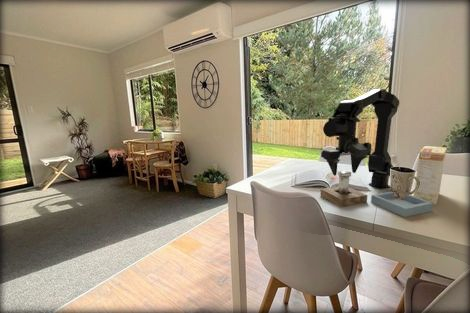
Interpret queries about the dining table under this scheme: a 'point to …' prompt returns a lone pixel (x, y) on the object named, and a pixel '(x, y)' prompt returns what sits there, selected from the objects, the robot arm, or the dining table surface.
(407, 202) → the tray
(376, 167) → the robot arm
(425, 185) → the coffeecake box
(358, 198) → the socket block
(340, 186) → the clear glass cylinder
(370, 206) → the dining table surface
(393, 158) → the eye dropper bottle
